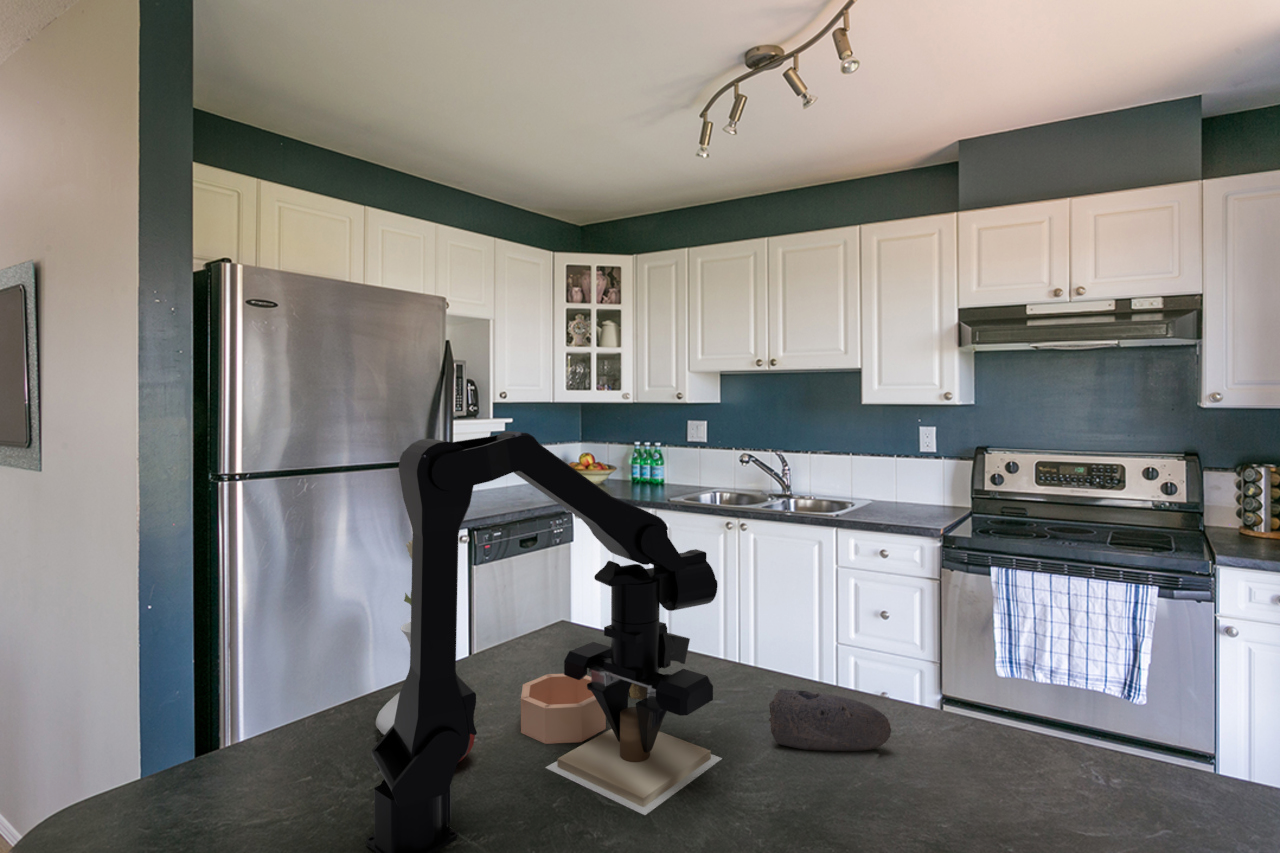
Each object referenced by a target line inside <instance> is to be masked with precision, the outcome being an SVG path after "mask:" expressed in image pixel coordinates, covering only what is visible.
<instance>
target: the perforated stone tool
mask: <svg viewBox="0 0 1280 853" xmlns="http://www.w3.org/2000/svg"><path fill="white" fill-rule="evenodd" d="M768 709H769V714H770V717H769V718H768V722H770V733H771V734H772V737H773V739H774V741H775V742H776V743H777V744H779V745H780V746H785V747H789V748H793V749H800V750H812V751H828V752H829V751H833V752H839V751H840V752H848V751H849V752H850V751H851V752H858V751H859V752H860V751H862V752H863V751H873V750H875V749H878V748H880V747H882V746H883V745H884V744H885V743H887V741H888V740H889V739H890V738H891V734H892V728H891V723H890V721H889V719H888V718H887V716H886V715H885V714H884V713H882V712H881V711H879V710H878V709H877V708H875V707H873V706H871V705H870V704H867V703H864V702H861V701H858V700H856V699H852V698H848V697H843V696H840V695H835V694H829V693H824V692H813V691H808V690H799V689H783V688H780V689H778V691H777V692H776V693H775V695H774V698H773V700H772V701H770V703H769V708H768Z"/></svg>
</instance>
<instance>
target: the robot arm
mask: <svg viewBox="0 0 1280 853" xmlns="http://www.w3.org/2000/svg"><path fill="white" fill-rule="evenodd" d="M512 473H513V474H515V475H517V476H518V477H519V478H520V479H522V480H524V481H525V482H526V483H528V484H529V485H531V486H532V487H534V488H535V489H536V490H538V491H540V492H541V493H543V494H544V495H545V496H547V497H548V498H550V499H552V500H553V501H554V502H556V503H557V504H558V505H560V506H562V507H563V508H564V509H566V510H567V511H568V512H570V513H572V514H574V515H575V517H577V518H579V519H581V520H582V522H583V523H584V524H585V525H586V526H587V527H588V528H589V529H590V532H591V533H592V535H593V536H594V537H595V538H596V540H598V541H599V542H600V544H602V546H604V547H605V549H607V550H608V551H609V552H610V553H611V554H614V555H616V556H619V557H622V558H623V559H624V558H625V559H626V560H630V561H632V562H636V563H633V564H632V563H631V564H626V565H621V564H619V563H618V562H614V561H613V560H607V561H606V564H605V565H604V566H603V568H601V569H600V570H599V571H598V572H597V573H596V574H595V575H594V577H593V578H594V580H595V581H597V582H599V583H601V584H603V585H605V586H608V587H610V588H611V590H610V591H611V595H610V597H611V598H610V600H611V601H610V603H611V604H610V606H611V607H610V608H611V610H610V611H611V612H610V614H611V615H610V616H611V618H610V621H611V622H610V624H609V625H605V626H604V627H603V635H604V636H605V637H608V638H611V639H610V640H611V641H610V645H606V644H602V643H599V642H595V641H592V642H588V643H587V644H584V645H582V646H579V647H576V648H573V649H571V650H569V651H568V652H567V654H566V655H565V657H564V659H563V660H564V661H563V665H564V666H563V667H564V668H563V672H564V673H563V674H564V675H566V676H569V677H571V678H574V679H577V680H581V679H583V678H584V677H585V676H586V675H587V676H588V671H589V673H590V677H591V682H590V683H588V684H587V689H588V690H590V691H592V693H593V694H594V696H595V698H596V700H597V701H598V703H599V705H600V707H601V708H602V710H603V712H604V714H605V716H606V720H607V721H608V725H609V726H610V728H611V729H612V730H613V732H614V734H615V736H616V738H617V740H618V742H620V712H621V711H622V710H623V709H625V708H628V707H629V694H630V693H629V690H630V687H631V685H632V683H634V684H637V685H640V686H643V687H646V688H648V693H647V697H646V698H644V699H640V700H638V701H637V702H635V707H636V710H637V717H638V723H639V730H640V737H641V743H642V747H643V750H644V752H645V753H648V752H650V751H651V750H652V748H653V745H654V743H655V740H656V737H657V734H658V732H659V731H660V729H661V726H662V723H663V720H664V718H665V716H666V714H667V713H671V714H674V715H677V716H682V717H683V716H688V715H690V714H692V713H694V712H696V711H697V710H698V709H700V708H701V707H703V706H705V705H707V704H708V703H710V702H711V701H714V683H713V681H712V680H711V679H710V677H709V676H708V675H706V674H702V673H699V672H696V671H692V670H689V669H686V668H682V669H680V670H678V671H676V672H674V673H672V674H668V673H665V674H663V673H660V669H667V668H669V667H671V666H672V665H671V662H678V663H680V664H682V665H685V664H686V660H687V655H688V652H689V646H690V645H689V644H690V641H691V638H689V637H687V636H682V635H678V634H674V633H671V632H668V626H667V623H665V622H661V621H660V605H661V607H662V608H663V609H665V610H667V611H669V612H673V611H678V610H682V609H683V610H684V609H689V608H692V607H698V606H702V605H703V606H704V605H708V604H710V603H712V602H713V601H714V600H715V598H716V596H717V592H718V580H717V579H716V575H715V572H714V570H713V567H712V566H711V565H710V563H709V562H708V561H707V552H706V551H703V550H700V549H697V548H695V549H690V550H689V549H688V550H686V551H684V552H679V551H678V550H677V548H676V547H675V545H674V543H673V542H672V541H671V540H670V538H669V534H668V530H669V527H668V525H667V523H666V522H665V520H663V519H662V518H661V517H660V516H658V515H655V514H653V513H651V512H649V511H647V510H644V509H642V508H640V507H638V506H635V505H633V504H630V503H628V502H625V501H623V500H621V499H618V498H616V497H614V496H612V495H610V494H609V493H608V492H606V491H605V490H603V489H602V488H601V487H600V486H598V485H596V484H595V483H594V482H592V481H591V480H590V479H588V478H587V477H586V476H585V475H583V474H582V473H580V472H579V471H578V470H577V469H575V468H573V467H572V466H571V465H569V464H568V463H566V462H565V461H564V460H562V459H561V458H560V457H559V456H557V455H555V454H554V453H552V452H551V451H550V450H549V449H547V447H545V446H543V445H542V444H541V443H539V441H538V440H537V439H536V437H534V436H533V435H532V434H530V433H528V432H523V431H522V432H521V431H513V430H512V431H509V430H506V431H502V432H501V433H499V434H494V435H489V436H483V437H478V438H477V437H476V438H469V439H462V440H457V441H447V440H441V439H440V440H439V439H435V438H422V439H418V440H417V441H415V442H412V443H411V444H410V445H408V447H407V448H406V449H405V450H403V451H402V453H401V455H400V457H399V463H398V474H399V481H400V486H401V492H402V498H403V501H404V502H403V503H404V506H405V509H406V512H407V516H408V519H409V522H410V525H411V526H410V527H411V530H412V531H411V533H412V539H411V540H412V559H411V590H412V591H411V590H410V598H411V605H410V622H411V644H410V645H409V648H410V650H409V657H410V658H409V659H410V660H409V669H408V673H407V675H406V677H405V679H404V683H403V684H402V687H401V690H400V691H399V692H400V695H399V700H398V705H397V710H396V715H395V720H394V724H393V726H392V727H391V728H390V729H389V730H388V732H387V733H386V734H385V735H384V734H383V736H382V738H380V740H379V741H378V742H377V743H376V744H375V745H374V747H373V748H372V749H371V750H370V754H371V757H372V760H373V761H374V764H375V766H376V769H377V770H378V771H379V772H380V774H381V775H382V777H383V779H382V781H381V784H379V785H377V786H375V787H374V788H373V789H374V790H373V794H374V796H373V797H374V798H373V799H374V806H373V807H374V810H373V811H374V834H371V835H370V836H368V837H366V839H365V846H367V847H368V848H369V849H371V850H372V851H373V852H374V853H435V852H437V851H439V850H441V849H442V848H444V847H446V846H448V845H449V844H451V843H453V842H455V841H456V840H457V839H458V832H457V831H456V830H455V829H453V828H452V827H450V825H451V822H452V802H451V801H452V799H451V798H452V796H451V795H452V792H451V791H452V790H451V788H452V787H451V786H452V781H453V778H454V775H455V772H456V770H457V766H458V763H460V762H461V761H460V759H461V758H462V757H463V756H465V755H466V753H467V751H468V749H469V744H470V734H472V735H475V736H476V735H477V734H478V731H477V729H476V725H475V722H474V717H475V709H476V704H477V693H476V692H475V691H474V690H473V689H472V688H471V687H470V686H469V685H468V684H467V683H466V682H465V681H464V680H463V679H462V678H461V677H460V676H459V675H458V674H457V673H456V672H457V669H456V667H457V666H456V665H457V664H456V663H457V623H458V622H457V621H458V616H457V615H458V580H459V579H458V577H459V576H458V574H459V573H458V571H459V569H458V568H459V534H460V529H461V527H462V524H463V522H464V520H465V518H466V515H467V513H468V510H469V508H470V505H471V501H472V496H473V490H474V486H475V485H480V484H481V485H482V484H486V483H489V482H492V481H494V480H497V479H500V478H502V477H505V476H507V475H510V474H512ZM649 564H650V565H653V567H651V568H650V567H649V568H645V566H643V565H646V566H647V565H649ZM466 756H467V755H466ZM466 756H465V757H466ZM459 761H460V762H459Z"/></svg>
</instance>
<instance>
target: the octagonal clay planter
mask: <svg viewBox="0 0 1280 853" xmlns="http://www.w3.org/2000/svg"><path fill="white" fill-rule="evenodd" d="M590 682H591V675H590V676H589V675H588V674H587V675H586V676H585V677H584V678H583V679H581V680H577V679H574V678H571V677H569V676H566V675H564V673H547V674H545V675H542V676H540V677H537V678H535V679H532V680H530V681H527V682H526V683H522V689H521V690H522V691H521V696H520V734H523V735H524V736H527V737H529V738H531V739H534V740H536V741H538V742H540V743H543V744H545V745H546V744H548V745H549V744H551V745H552V744H570V743H572V744H573V743H583V742H584V741H587V740H588V739H590V738H592V737H593V736H596V735H597V734H599V733H600V732H603V731H605V730H606V729H607V727H606V726H607V724H606V723H607V721H606V720H607V718H606V716H605V714H604V712H603V710H602V708H601V707H600V705H599V703H598V701H597V700H596V698H595V696H594V694H593V693H592V691H590V690H588V689H587V684H588V683H590Z"/></svg>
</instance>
